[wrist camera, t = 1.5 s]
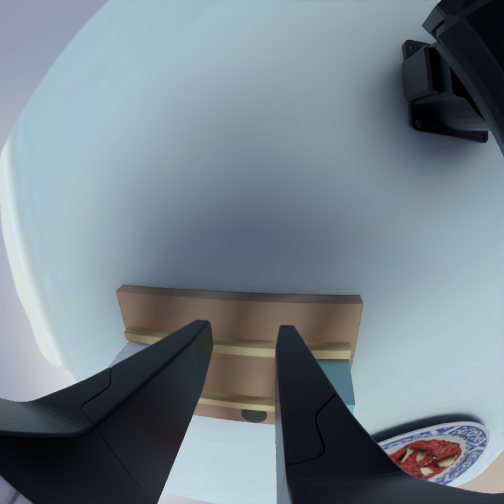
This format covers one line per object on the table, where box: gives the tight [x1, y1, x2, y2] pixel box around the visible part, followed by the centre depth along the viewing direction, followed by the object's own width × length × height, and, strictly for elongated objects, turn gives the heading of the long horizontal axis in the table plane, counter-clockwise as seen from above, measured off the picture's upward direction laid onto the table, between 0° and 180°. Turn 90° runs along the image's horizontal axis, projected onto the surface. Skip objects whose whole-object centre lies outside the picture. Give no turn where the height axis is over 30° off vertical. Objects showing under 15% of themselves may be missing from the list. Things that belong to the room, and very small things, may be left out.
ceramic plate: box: [378, 421, 489, 485], centre depth 27 cm, size 26×26×3 cm
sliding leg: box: [275, 359, 355, 444], centre depth 20 cm, size 5×9×5 cm, turn 2°
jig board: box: [116, 285, 363, 424], centre depth 23 cm, size 19×14×2 cm
